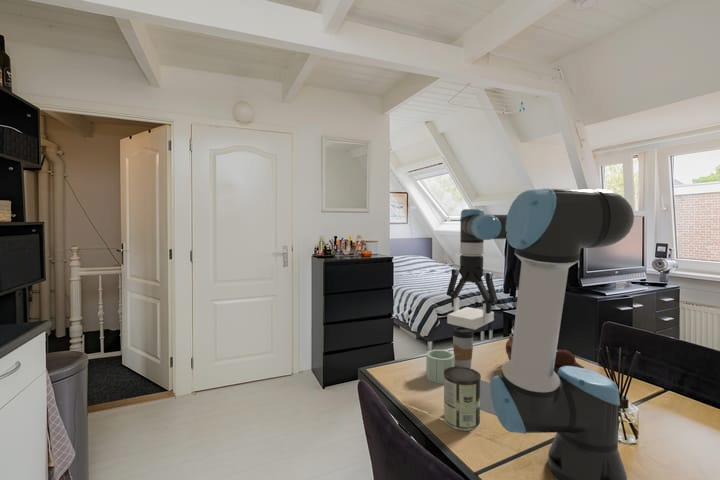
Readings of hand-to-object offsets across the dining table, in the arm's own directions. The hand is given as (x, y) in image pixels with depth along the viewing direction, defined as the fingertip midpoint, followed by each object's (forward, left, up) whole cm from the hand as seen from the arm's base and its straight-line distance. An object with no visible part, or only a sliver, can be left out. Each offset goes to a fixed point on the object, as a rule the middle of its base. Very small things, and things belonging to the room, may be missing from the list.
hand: (470, 319), depth 121 cm
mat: (-1, -6, -24) cm, 25 cm away
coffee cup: (+17, +11, -25) cm, 32 cm away
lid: (0, 0, -1) cm, 1 cm away
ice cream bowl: (+19, -25, -25) cm, 40 cm away
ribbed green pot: (+1, +12, -24) cm, 27 cm away
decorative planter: (+29, -8, -25) cm, 39 cm away
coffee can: (-20, -7, -25) cm, 33 cm away
